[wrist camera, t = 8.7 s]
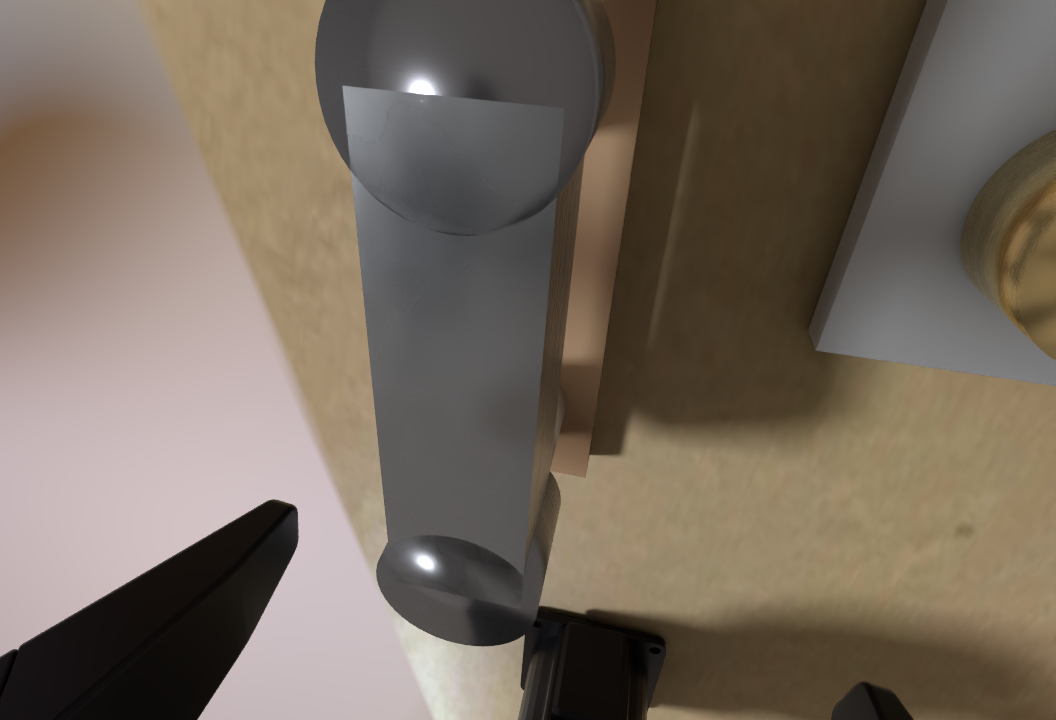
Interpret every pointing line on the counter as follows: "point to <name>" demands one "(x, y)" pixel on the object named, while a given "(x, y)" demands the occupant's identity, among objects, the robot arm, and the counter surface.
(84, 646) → the robot arm
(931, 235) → the plate
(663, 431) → the counter surface
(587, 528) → the counter surface
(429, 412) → the grey knobbed rod
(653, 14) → the peg rack
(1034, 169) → the lever switch
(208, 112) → the counter surface
